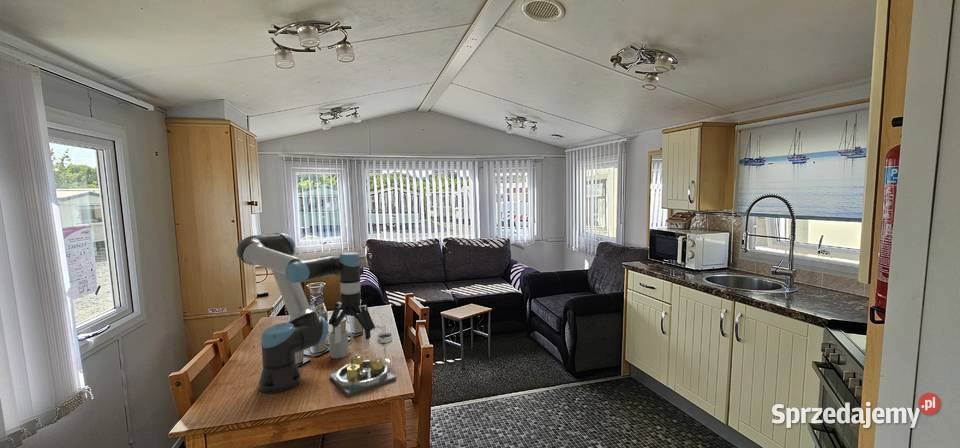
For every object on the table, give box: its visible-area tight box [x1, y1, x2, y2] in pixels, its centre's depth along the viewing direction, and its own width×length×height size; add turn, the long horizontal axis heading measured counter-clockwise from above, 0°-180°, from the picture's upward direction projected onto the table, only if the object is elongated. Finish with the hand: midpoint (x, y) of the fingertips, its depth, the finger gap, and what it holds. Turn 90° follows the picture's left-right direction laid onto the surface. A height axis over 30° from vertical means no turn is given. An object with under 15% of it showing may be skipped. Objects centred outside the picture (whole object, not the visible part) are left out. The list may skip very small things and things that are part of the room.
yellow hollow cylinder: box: [347, 364, 360, 382], centre depth 152 cm, size 5×5×6 cm
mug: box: [328, 328, 354, 360], centre depth 183 cm, size 12×8×11 cm
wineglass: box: [376, 332, 393, 364], centre depth 175 cm, size 7×7×12 cm
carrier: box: [329, 353, 397, 397], centre depth 157 cm, size 20×20×8 cm
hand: (351, 344), depth 151 cm, fingers open, 13 cm apart
